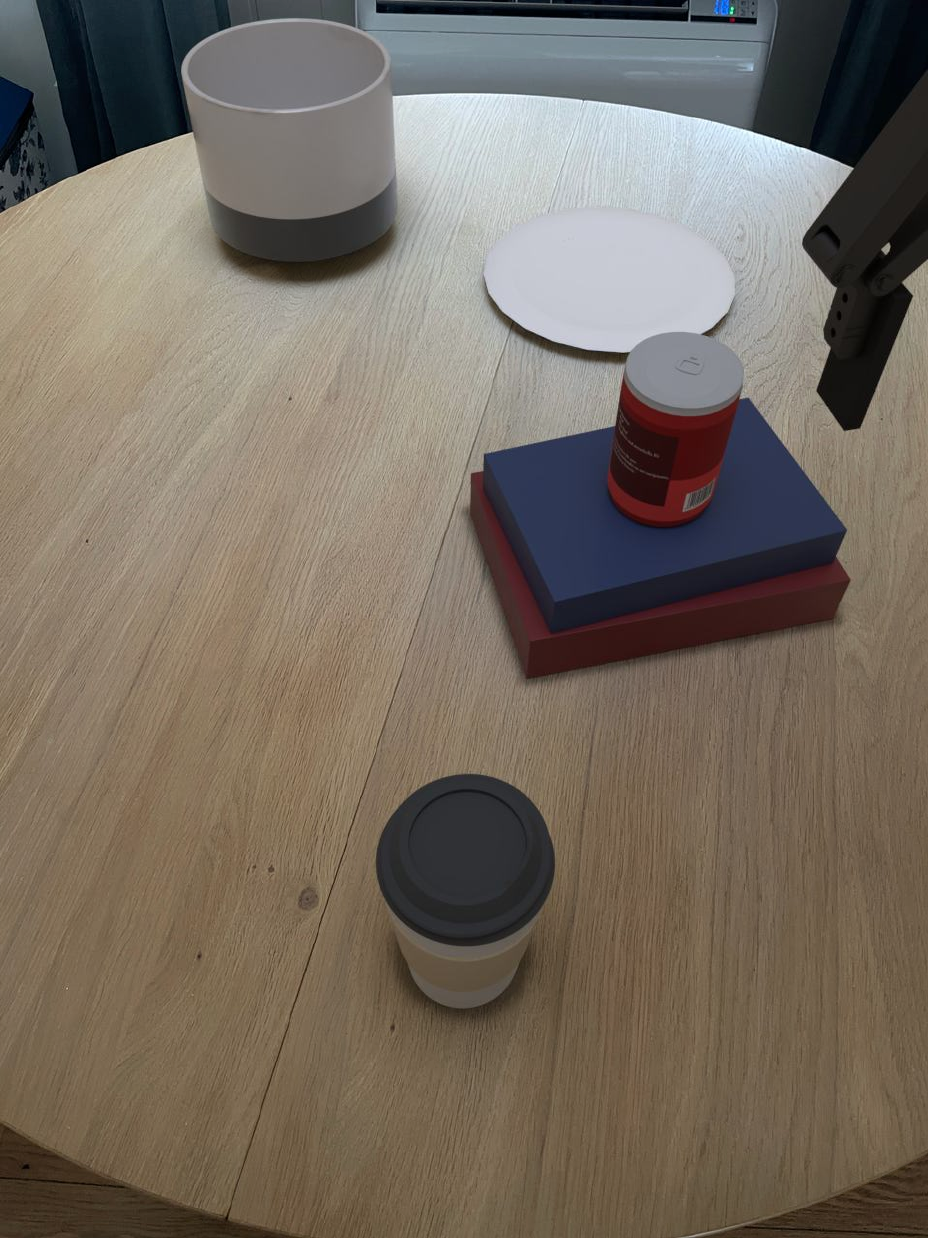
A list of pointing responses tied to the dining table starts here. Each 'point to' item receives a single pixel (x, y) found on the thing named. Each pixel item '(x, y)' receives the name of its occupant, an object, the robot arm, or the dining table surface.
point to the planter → (294, 136)
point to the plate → (608, 278)
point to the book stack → (652, 551)
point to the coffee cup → (465, 884)
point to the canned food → (673, 426)
